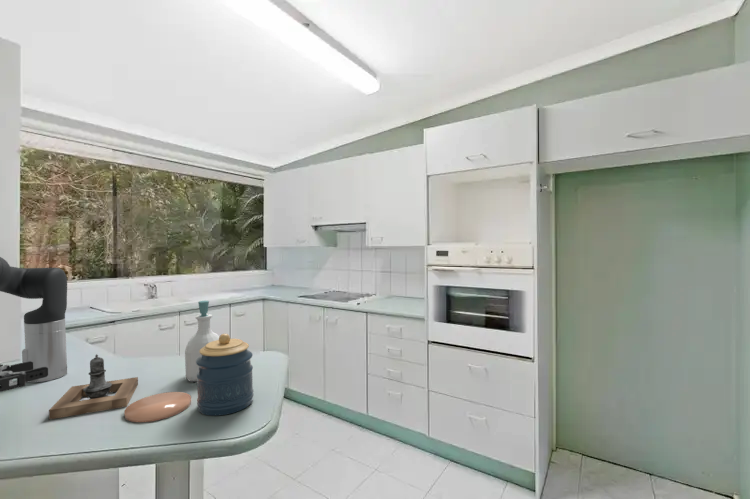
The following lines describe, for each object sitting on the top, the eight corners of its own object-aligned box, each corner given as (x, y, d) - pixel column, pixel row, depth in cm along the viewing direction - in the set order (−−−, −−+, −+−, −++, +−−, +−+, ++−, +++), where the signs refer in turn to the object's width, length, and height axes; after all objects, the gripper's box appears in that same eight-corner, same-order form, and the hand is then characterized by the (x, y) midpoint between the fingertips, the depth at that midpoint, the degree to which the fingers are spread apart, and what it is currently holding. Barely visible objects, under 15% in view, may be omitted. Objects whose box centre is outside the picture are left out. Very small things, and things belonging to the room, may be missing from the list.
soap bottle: (224, 369, 116) (222, 297, 115) (220, 380, 106) (218, 302, 106) (191, 372, 113) (189, 299, 112) (184, 384, 104) (181, 304, 103)
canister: (259, 407, 89) (257, 335, 88) (200, 422, 82) (198, 344, 81) (247, 389, 100) (245, 325, 99) (194, 401, 93) (192, 332, 92)
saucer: (118, 427, 80) (117, 423, 80) (131, 402, 93) (131, 398, 93) (189, 414, 86) (189, 410, 86) (192, 391, 98) (192, 388, 98)
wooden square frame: (49, 419, 84) (48, 410, 84) (72, 394, 98) (71, 386, 98) (126, 406, 90) (126, 397, 90) (138, 384, 104) (137, 377, 104)
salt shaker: (97, 406, 91) (95, 358, 90) (77, 404, 92) (75, 357, 91) (118, 396, 96) (116, 351, 96) (99, 394, 98) (97, 350, 97)
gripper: (-61, 380, 66) (52, 356, 80) (-80, 368, 73) (27, 348, 87) (-60, 421, 66) (53, 390, 80) (-79, 405, 73) (28, 379, 87)
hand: (39, 368), depth 84 cm, fingers open, 8 cm apart
